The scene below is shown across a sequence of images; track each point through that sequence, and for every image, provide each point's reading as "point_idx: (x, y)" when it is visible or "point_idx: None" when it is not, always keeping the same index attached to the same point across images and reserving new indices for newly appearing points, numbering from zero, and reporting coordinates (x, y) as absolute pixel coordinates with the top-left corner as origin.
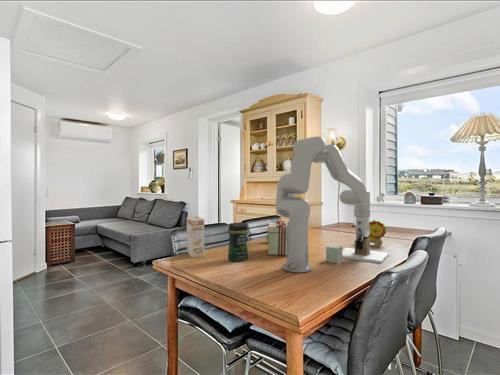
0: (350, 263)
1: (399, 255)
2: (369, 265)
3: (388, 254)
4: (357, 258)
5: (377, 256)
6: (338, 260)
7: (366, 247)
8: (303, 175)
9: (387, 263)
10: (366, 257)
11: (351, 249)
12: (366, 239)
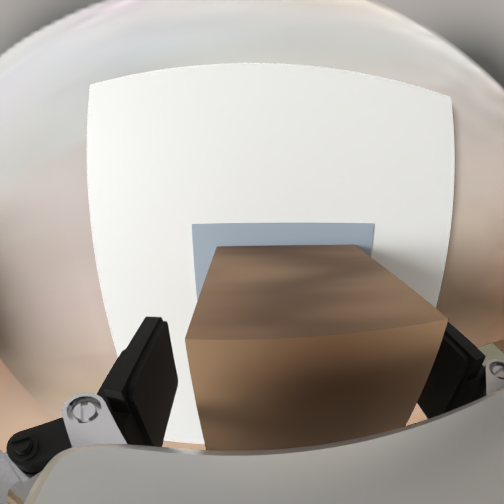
0: (495, 292)
1: (68, 36)
2: (501, 180)
3: (111, 82)
4: (434, 291)
5: (321, 137)
6: (498, 349)
7: (396, 282)
8: None
9: (409, 58)
10: (413, 231)
11: (172, 410)
12: (212, 394)
